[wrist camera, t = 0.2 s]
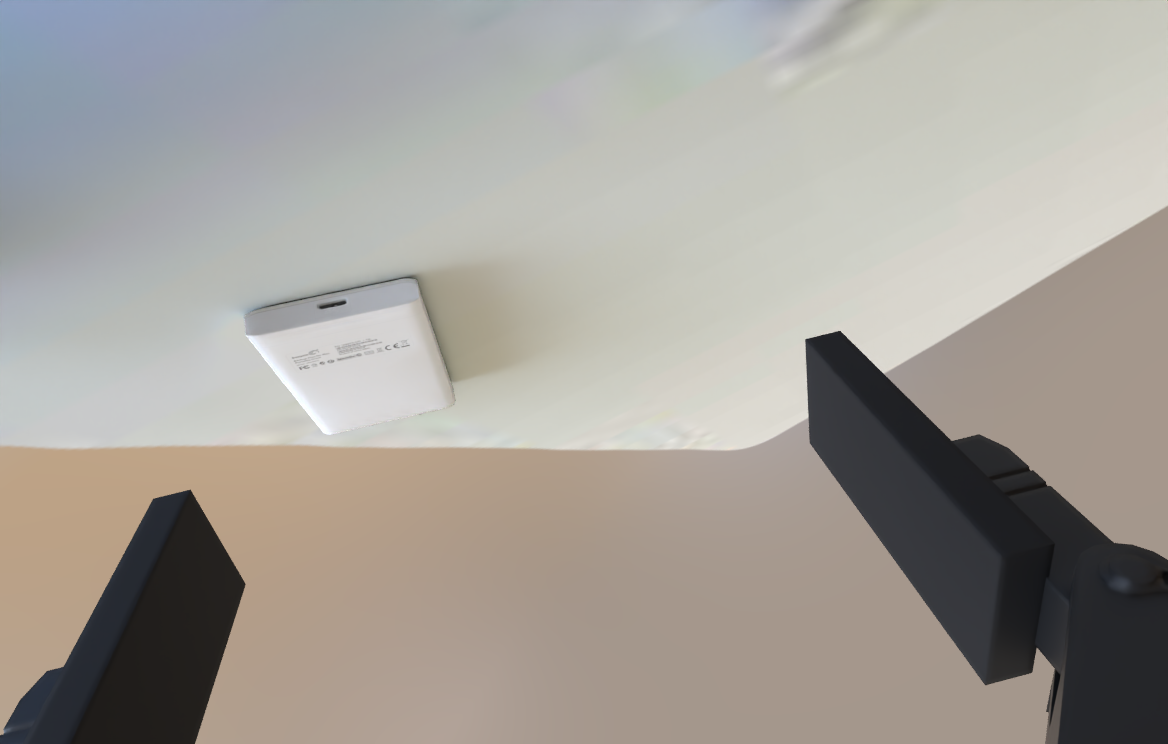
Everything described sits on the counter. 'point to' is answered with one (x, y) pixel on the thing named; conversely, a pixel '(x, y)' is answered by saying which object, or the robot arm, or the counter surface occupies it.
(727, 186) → the counter surface
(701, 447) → the counter surface
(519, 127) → the counter surface
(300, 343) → the hard drive
